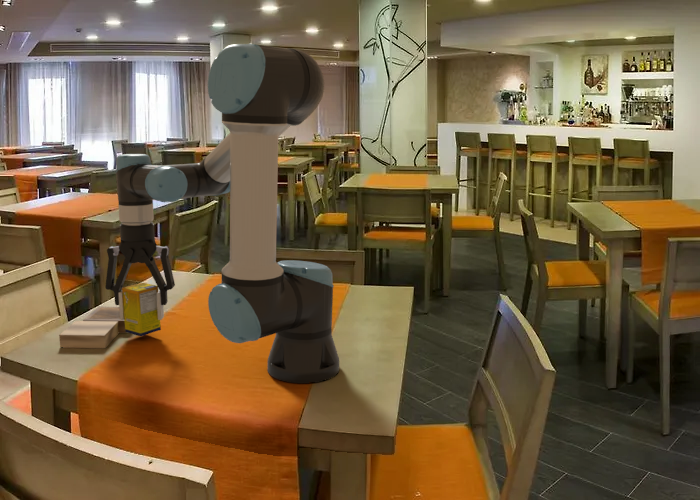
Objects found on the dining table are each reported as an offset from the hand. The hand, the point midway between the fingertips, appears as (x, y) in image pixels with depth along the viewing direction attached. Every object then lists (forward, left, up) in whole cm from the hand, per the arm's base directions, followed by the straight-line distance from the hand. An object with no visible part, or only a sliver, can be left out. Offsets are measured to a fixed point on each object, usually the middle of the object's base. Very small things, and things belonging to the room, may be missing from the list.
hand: (142, 318), depth 158 cm
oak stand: (-3, +11, -5) cm, 13 cm away
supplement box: (0, 0, -3) cm, 3 cm away
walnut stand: (+8, +9, -5) cm, 13 cm away
